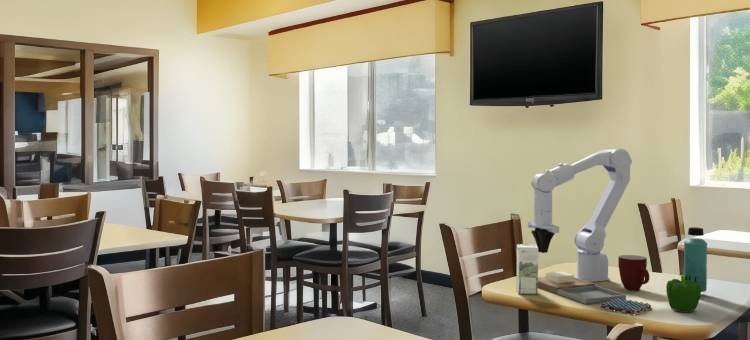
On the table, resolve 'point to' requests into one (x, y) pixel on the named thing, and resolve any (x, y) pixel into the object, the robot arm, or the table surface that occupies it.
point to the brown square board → (561, 284)
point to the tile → (560, 277)
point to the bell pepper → (683, 294)
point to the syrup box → (527, 269)
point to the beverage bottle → (695, 258)
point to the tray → (590, 294)
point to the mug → (633, 271)
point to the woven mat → (625, 306)
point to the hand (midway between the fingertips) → (542, 252)
